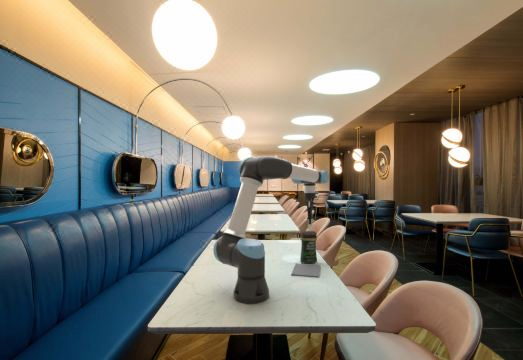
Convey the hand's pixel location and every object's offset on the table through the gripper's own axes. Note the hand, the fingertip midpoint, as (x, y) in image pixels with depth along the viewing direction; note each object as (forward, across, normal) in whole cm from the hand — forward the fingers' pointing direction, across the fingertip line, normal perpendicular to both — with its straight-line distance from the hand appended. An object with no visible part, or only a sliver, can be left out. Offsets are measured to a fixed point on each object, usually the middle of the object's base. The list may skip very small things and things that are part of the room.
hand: (310, 228), depth 171 cm
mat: (+17, -27, 0) cm, 32 cm away
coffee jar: (+18, -12, 0) cm, 22 cm away
